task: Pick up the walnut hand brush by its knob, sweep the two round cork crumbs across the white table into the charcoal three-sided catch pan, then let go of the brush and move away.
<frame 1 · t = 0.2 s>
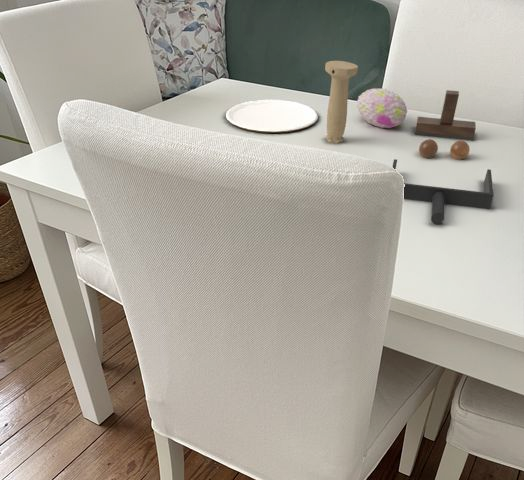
plate: (271, 120, 129), on the table
crumb b: (428, 149, 112), point 2 cm above the table
handle: (334, 143, 119), on the table
dustpan: (437, 191, 102), on the table
brush: (443, 136, 122), on the table
decorative item: (378, 126, 127), on the table
crumb a: (459, 150, 112), point 2 cm above the table
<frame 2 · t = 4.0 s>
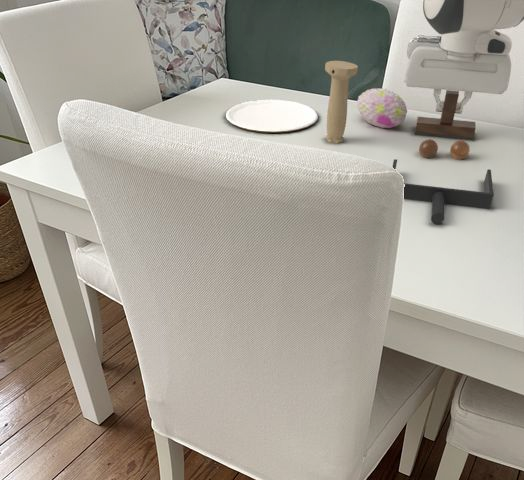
hand: (448, 111, 119), 5 cm above the table, tool pointing down, fingers closed on brush, 2 cm apart
brush: (443, 136, 122), on the table, touching gripper
everything else where it was.
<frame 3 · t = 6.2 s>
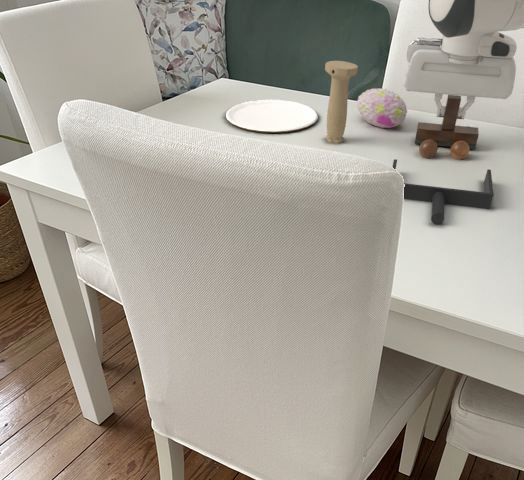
hand: (450, 117, 114), 6 cm above the table, tool pointing down, fingers closed on brush, 2 cm apart
brush: (444, 142, 117), point 1 cm above the table, touching gripper
everything else where it was.
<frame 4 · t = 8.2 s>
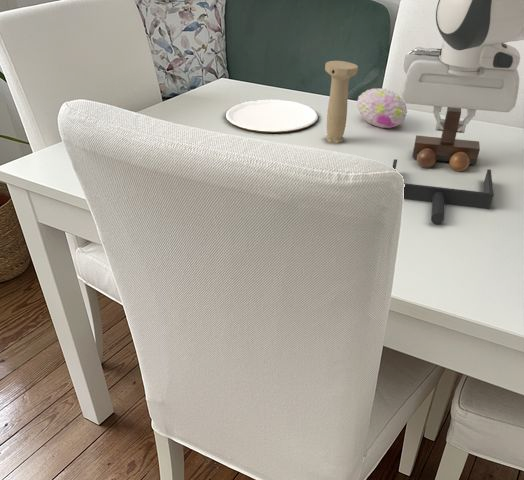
hand: (449, 130, 108), 6 cm above the table, tool pointing down, fingers closed on brush, 2 cm apart
crumb b: (426, 158, 108), point 2 cm above the table, tilted 156°
brush: (443, 157, 111), point 1 cm above the table, touching gripper
crumb a: (459, 162, 107), point 2 cm above the table, tilted 171°
everything else where it was.
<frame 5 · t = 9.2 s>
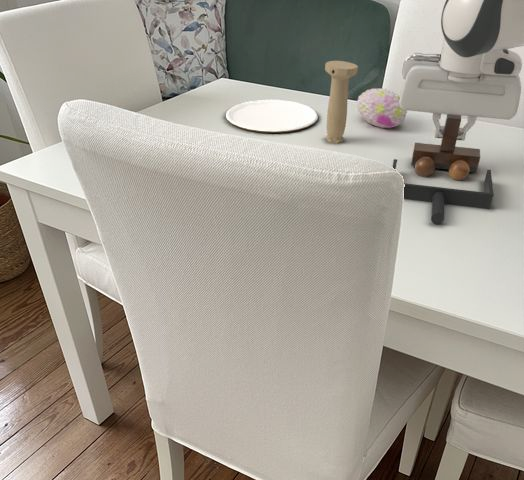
hand: (449, 138, 105), 6 cm above the table, tool pointing down, fingers closed on brush, 2 cm apart
crumb b: (424, 166, 105), point 2 cm above the table, tilted 71°
brush: (443, 165, 108), point 1 cm above the table, touching gripper
crumb a: (459, 170, 104), point 2 cm above the table, tilted 40°
everything else where it was.
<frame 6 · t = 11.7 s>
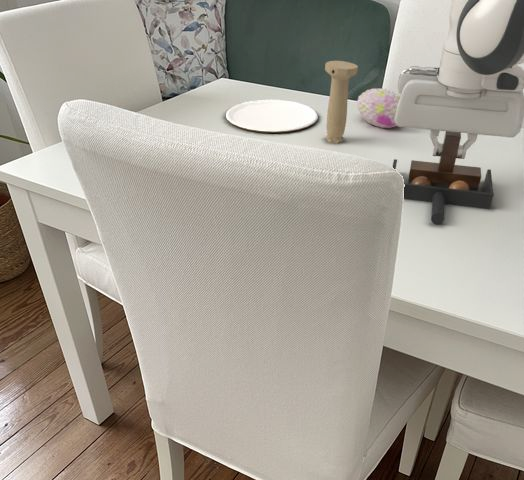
hand: (448, 156, 98), 6 cm above the table, tool pointing down, fingers closed on brush, 2 cm apart
crumb b: (420, 186, 99), point 2 cm above the table, tilted 145°
brush: (442, 184, 102), point 1 cm above the table, touching gripper
crumb a: (458, 191, 98), point 2 cm above the table, tilted 113°
everything else where it was.
when the fingers open (6 cm above the table, at t = 12.2 s): brush stays where it is, on the table.
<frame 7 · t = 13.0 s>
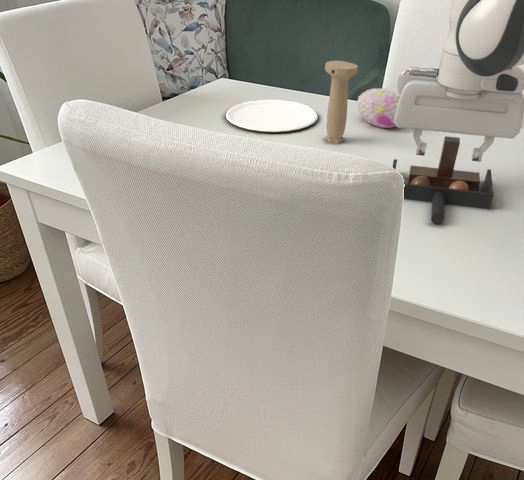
hand: (447, 157, 99), 6 cm above the table, tool pointing down, fingers open, 8 cm apart
brush: (441, 189, 102), on the table
everything else where it was.
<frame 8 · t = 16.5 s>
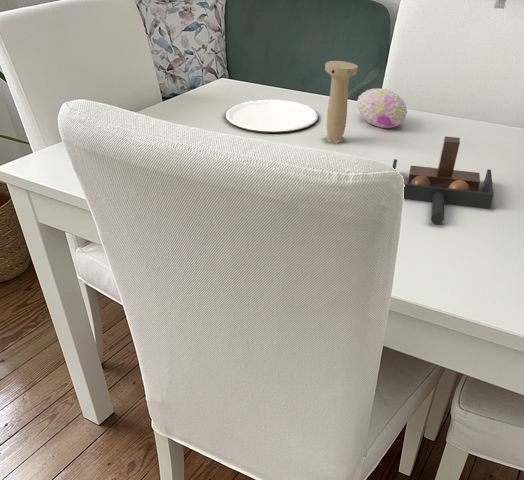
crumb a: (458, 190, 98), point 2 cm above the table, tilted 118°
everything else where it was.
at the end: crumb a inside the target area on the dustpan (4.4 cm from its centre), point 1.8 cm above the dustpan's base; crumb b inside the target area on the dustpan (4.3 cm from its centre), point 1.8 cm above the dustpan's base; brush moved 27.0 cm from its start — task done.
